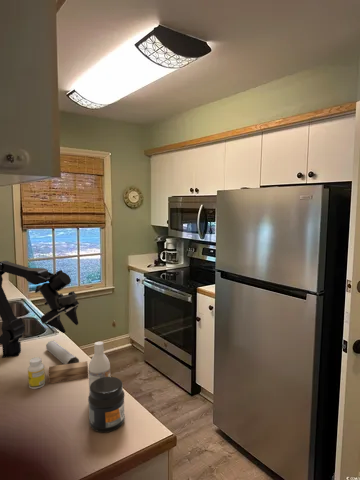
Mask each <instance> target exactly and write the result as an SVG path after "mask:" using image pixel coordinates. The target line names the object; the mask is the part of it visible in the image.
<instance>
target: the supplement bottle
mask: <svg viewBox="0 0 360 480" xmlns="http://www.w3.org/2000/svg"><path fill="white" fill-rule="evenodd" d="M42 361H43V360H42V357H41V356H39V357H38V356H37V357H35V356H34V357H32V358H31V359H29V366H28V368H27V376H28V388H30V389H33V390H35V389H36V390H37V389H39V388H42V387H44V386H45V384H46V377H45V376H46V374H45V364H44V363H43V362H42Z"/></svg>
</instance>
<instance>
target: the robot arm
mask: <svg viewBox="0 0 360 480" xmlns="http://www.w3.org/2000/svg"><path fill="white" fill-rule="evenodd" d="M5 273H7V274H10V275H13V276H17V277H21V278H24V279H25V280H26V282H29V283H30V284H32V285H34V286H35V290H34V293H35V294H37V293H39V292H40V294H41V295H42V297H43V299H44V300H45V302H44V305H45V306H47V305H48V307H49V308H50V310H49V311H47V312H46V313H44V314H43V315H41V316H40V322H41V323H42V325H44V324H45V325H48V326H51V328H54V329H55V330H57V331H59V332H60V333H62V334H65V333H66V329H65V327H64V325H63V323H62V321H61V313H63V312H65V313H64V315H66V316H67V318H68V319H69V320H70V321H71V322H72V323H74V325H75V326H78V325H79V321H78V314H77V309H78V308H79V304H80V302H79V301H78V300H77V298H78V295H77V294H76V292H75V291H69V292H68V294H67V295H64V294H63V293H59V292H60V291H61V290H63V289H64V288H65V287H67V286H69V285H70V284H71V282H72V279H71V276H70V275H69V274H67V273H66V272H64V271H63V270H62V269H59V270H58V271H56V272H55V273H53V272H50V271H49V270H48V269H47V268H44V267H29V266H25V265H21V264H19V263H18V264H17V263H14V262H11V261H9V260H2V261H0V319H1V320H2V322H1V328H0V329H1V332H2V334H1V335H0V345H1V347H2V356H1V358H2V359H5V358H12V357H18V356H19V355H20V353H21V352H22V343H21V341H20V339H22V337H23V335H24V333H25V330H26V328H25V326H26V325H25V323H24V322H23V319H22V317H17V316H15V314H14V311H13V309H12V307H11V305H10V302H9V300H8V298H7V295H6V292H5V290H4V288H3V287H2V286H3V275H5ZM40 284H41V285H40ZM58 291H59V292H58Z"/></svg>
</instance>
